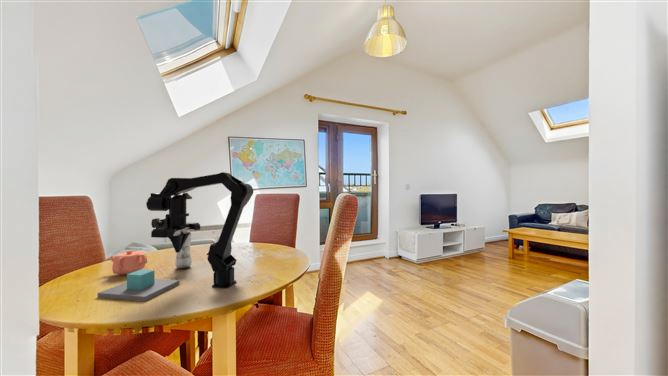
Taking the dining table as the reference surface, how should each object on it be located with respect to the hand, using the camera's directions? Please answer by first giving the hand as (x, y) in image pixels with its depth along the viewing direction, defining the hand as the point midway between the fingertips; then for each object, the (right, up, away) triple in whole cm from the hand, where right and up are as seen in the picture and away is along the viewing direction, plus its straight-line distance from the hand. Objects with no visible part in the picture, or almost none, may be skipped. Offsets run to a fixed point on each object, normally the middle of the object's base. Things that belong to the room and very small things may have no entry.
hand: (177, 252), depth 100 cm
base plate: (-9, -12, -7) cm, 16 cm away
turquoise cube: (-9, -11, -7) cm, 15 cm away
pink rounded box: (-28, -12, +13) cm, 33 cm away
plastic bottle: (-9, -12, +20) cm, 25 cm away
